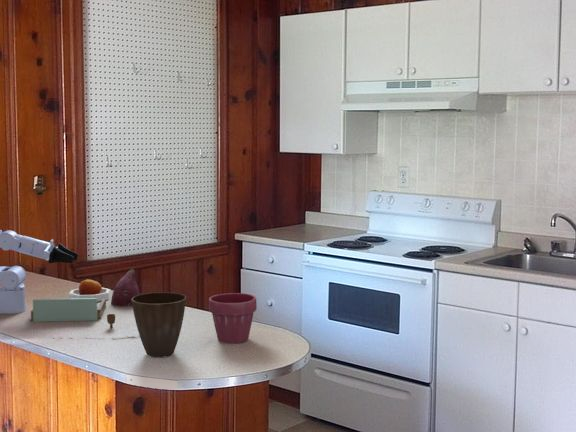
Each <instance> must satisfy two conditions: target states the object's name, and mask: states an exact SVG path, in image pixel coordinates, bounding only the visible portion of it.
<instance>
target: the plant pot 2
mask: <svg viewBox="0 0 576 432" xmlns="http://www.w3.org/2000/svg"><path fill="white" fill-rule="evenodd" d="M257 304H258V303H257V297H256V296H255V295H254V294H249V293H243V292H229V293H220V294H215V295H211V296H210V297H209V298H208V310H209V312H210V313H211V314H212V319H213V325H214V328H215V333H216V337H217V341H218V342H220V343H224V344H232V343H233V344H242V343H245V342H248V341H249V336H250V333H251V329H252V328H251V327H252V323H253V317H254V313H255V312H256V311H257V310H258V309H257V307H258V305H257Z"/></svg>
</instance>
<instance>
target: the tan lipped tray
mask: <svg viewBox="0 0 576 432" xmlns="http://www.w3.org/2000/svg"><path fill="white" fill-rule="evenodd" d="M106 308H107V300H106V299H102V301H100V304H99V305H98V306H97V320H101V319H102V317H103V315H104V313H105V311H106ZM30 319H31V320H30V321H31V322H34V320H33V309H31V311H30Z"/></svg>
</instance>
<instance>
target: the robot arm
mask: <svg viewBox="0 0 576 432" xmlns="http://www.w3.org/2000/svg"><path fill="white" fill-rule="evenodd" d="M54 241H55V240H54V239H51V240H50V241H49V242H48V241H45V240H42V239H41V240H40V239H37V238H34V237H31V236H27V235H21V234H18V233H17V232H16V231H14V230H10V229H7V230H5V231H2V229H0V249H2V250H3V251H9V250H11V251H14V252H18V253H20V254H24V255H28V256H32V257H34V258H35V257H36V258H39V259H43V260H45V261H48V263H49V264H53V263H64V264H73V263H74V261H77V260H78V257H79V254H78V253H77V252H75V251H73V250H71V249H69V248H67V247H66V246H65V245H63V243H58V246H55V243H54ZM26 278H27V273H26V270H25V268H24V267H22V266H19V265H13V266H0V286H1V288H0V314H9V315H10V314H20V313H21V314H22V313H24V312H25V311H26V308H27V307H26V287H25V284H24V282H25V280H26Z"/></svg>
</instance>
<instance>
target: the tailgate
mask: <svg viewBox="0 0 576 432" xmlns="http://www.w3.org/2000/svg"><path fill="white" fill-rule="evenodd" d="M97 307H98V302H97V298H70V299H69V298H38V299H37V298H36V299H35V298H34V299H32V310H33V320H34V321H33V323H38V322H39V323H40V322H43V323H45V322H77V321H79V322H81V321H82V322H83V321H98V319H97Z"/></svg>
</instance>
